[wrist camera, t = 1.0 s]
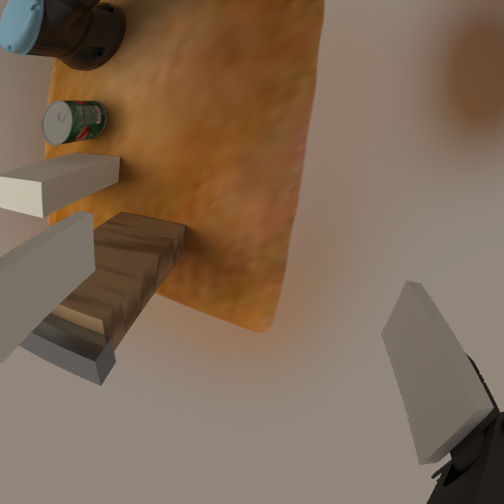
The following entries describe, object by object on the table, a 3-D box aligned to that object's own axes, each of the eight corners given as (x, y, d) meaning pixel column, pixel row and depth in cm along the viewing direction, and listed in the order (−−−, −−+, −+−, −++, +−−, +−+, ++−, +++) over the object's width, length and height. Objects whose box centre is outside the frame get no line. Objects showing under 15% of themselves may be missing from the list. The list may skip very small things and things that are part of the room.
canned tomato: (89, 146, 51) (53, 155, 41) (71, 120, 48) (35, 124, 38) (113, 120, 48) (79, 122, 38) (94, 92, 46) (58, 91, 36)
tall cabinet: (121, 211, 55) (16, 285, 28) (186, 225, 55) (102, 320, 28) (121, 243, 58) (28, 328, 31) (182, 258, 58) (109, 365, 31)
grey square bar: (-16, 280, 29) (-34, 293, 26) (111, 337, 29) (94, 361, 25) (-10, 302, 31) (-26, 316, 27) (116, 362, 30) (101, 385, 27)
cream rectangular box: (74, 152, 51) (-5, 175, 31) (120, 157, 51) (41, 182, 31) (73, 180, 54) (-3, 212, 34) (118, 187, 53) (43, 225, 33)
